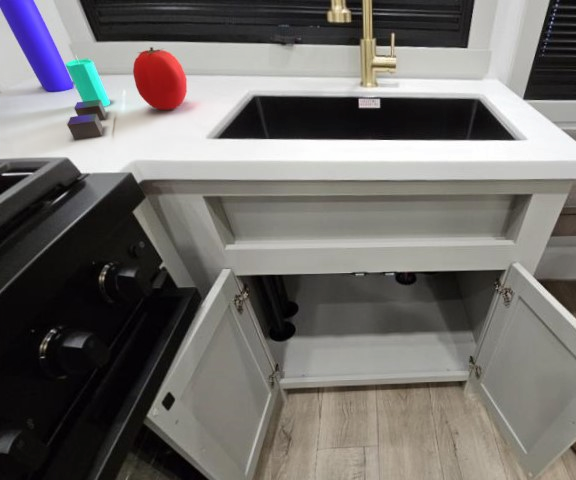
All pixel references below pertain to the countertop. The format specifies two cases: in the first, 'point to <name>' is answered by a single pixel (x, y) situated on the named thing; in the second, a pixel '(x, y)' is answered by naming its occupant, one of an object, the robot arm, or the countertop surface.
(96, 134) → the dark grey block
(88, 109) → the dark brown block
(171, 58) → the tomato
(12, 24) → the bottle
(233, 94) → the countertop surface
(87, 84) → the candle
